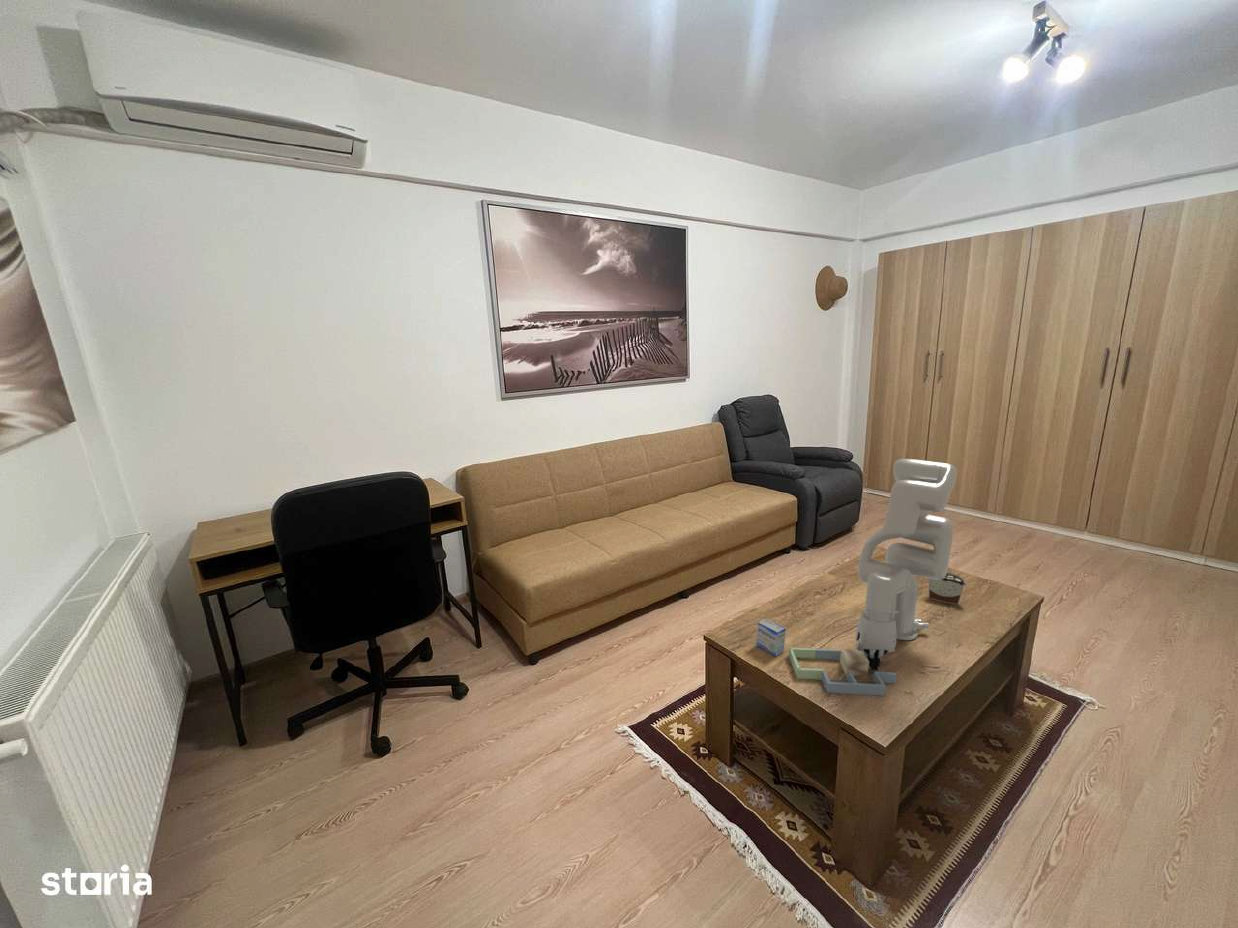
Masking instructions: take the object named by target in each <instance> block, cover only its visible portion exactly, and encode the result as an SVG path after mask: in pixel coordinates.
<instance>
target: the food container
mask: <svg viewBox="0 0 1238 928" xmlns="http://www.w3.org/2000/svg"><path fill="white" fill-rule="evenodd" d="M966 585H967V584H966V580H965V579H964V578H963V577H962V576H960V575H958V574H956V573H953V572H948V571H947V573H946V576H945V577H944V578H943V579H942V580H933V579H929V578H928V600H932V599H933V600H932V601H937V602H942V601H943V603H947V604H950V605H956V606H957V605H959V603H960V599H961V597H962V593H963V589H964V587H967V586H966Z"/></svg>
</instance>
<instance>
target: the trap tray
mask: <svg viewBox="0 0 1238 928" xmlns="http://www.w3.org/2000/svg"><path fill="white" fill-rule="evenodd" d="M874 652H875V650H874ZM863 653H864V654H865V656H866V658H867V659H868V655H867V654H866V653H865V652H864V651H863ZM840 656H841V649H834V648H833V649H831V648H830V649H829V648H810V647H809V648H806V647H789V649H788V658H789V660H790V663H791V665H792V668H793V671H794V673H795V676H796V679H799V680H802V679H803V680H820V681H821V682H822V684H823V686H824V688H825V691H826V693H828V694H829V693H831V694H845V695H847V694H848V695H864V696H865V695H867V696H886V691H887V690H886V689H887V685H886V684H896V683H897V676H898V675H897V673H896V672H892V671H891V672H889V671H873V678H872V681H871V680H856V678H855V676H853V674H852V672H851V670H847V675H846V679H835V678H834V679H832V678H830V679H829V676H828V674H827V672H826V669H823V668H805V667H804V668H803V667H800V665H799V662H798V659H816V660H837V661H840ZM882 660H883V657H882V658H881V659H880V663H881V662H882Z"/></svg>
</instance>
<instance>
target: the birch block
mask: <svg viewBox="0 0 1238 928" xmlns="http://www.w3.org/2000/svg"><path fill="white" fill-rule="evenodd" d="M840 650H841V656H840V660H839V664H840V666H841V668H842V671H843V672H844V673H845V675H846V676H847V670H851V672H852V674H853V676H854V677H864V678H865V677H866V678H867V677H868V676H869V668H870V666H869V661H868V659H867V658H866V656H865V654H864V653H863V651H859V650H857V648H855V649H850V648H848V649H847V648H840Z"/></svg>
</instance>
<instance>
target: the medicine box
mask: <svg viewBox="0 0 1238 928" xmlns="http://www.w3.org/2000/svg"><path fill="white" fill-rule="evenodd" d="M756 628H757V631H756V641H755V642H756V643H755V644H756V647H758V648H760V649H761V650H764V651H765V652H767V653H769V654H771V655H772V656H774V657H777V656H779V655H781V654H783V653H784V652H785V644H786V643H785V642H786V631H787V629H786V628H785V627H783V626H781V625H779V624H777V623H775V622H773V621H771V620H769V619H767V618H763V619H762V620H760V621H759V622H757V627H756Z"/></svg>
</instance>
